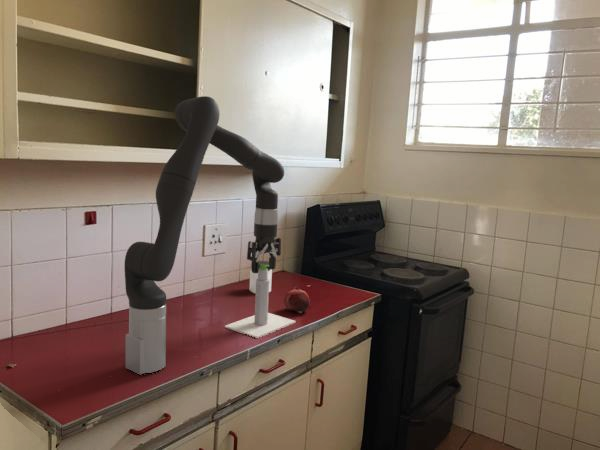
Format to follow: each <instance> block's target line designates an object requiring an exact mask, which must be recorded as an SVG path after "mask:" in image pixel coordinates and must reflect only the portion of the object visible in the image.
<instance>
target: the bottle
mask: <svg viewBox="0 0 600 450" xmlns="http://www.w3.org/2000/svg"><path fill="white" fill-rule="evenodd" d="M267 267H269V265H265V264H261V265H260V268H259V271H258V279H256V294H255V301H254V303H255V304H254V315H255V320H254V323H255V324H256V325H266V324H267V321H268V313H269V299H270V297H269V296H270V292H269V279H268V269H267Z"/></svg>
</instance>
